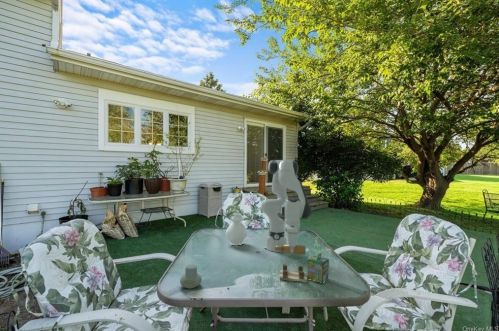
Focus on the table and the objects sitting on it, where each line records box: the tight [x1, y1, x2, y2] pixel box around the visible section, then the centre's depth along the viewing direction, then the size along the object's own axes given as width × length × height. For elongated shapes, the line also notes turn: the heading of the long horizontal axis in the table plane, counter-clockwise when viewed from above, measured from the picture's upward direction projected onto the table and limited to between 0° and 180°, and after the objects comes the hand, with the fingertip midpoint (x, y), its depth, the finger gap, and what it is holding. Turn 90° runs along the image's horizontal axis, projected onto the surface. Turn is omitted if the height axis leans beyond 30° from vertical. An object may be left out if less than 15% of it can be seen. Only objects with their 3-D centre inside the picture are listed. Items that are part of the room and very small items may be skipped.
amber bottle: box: [275, 243, 306, 256], centre depth 143 cm, size 5×17×5 cm
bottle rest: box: [279, 263, 308, 283], centre depth 143 cm, size 11×15×5 cm
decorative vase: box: [225, 212, 249, 246], centre depth 205 cm, size 18×18×25 cm
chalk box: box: [307, 252, 330, 284], centre depth 141 cm, size 9×9×15 cm
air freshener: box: [179, 264, 203, 290], centre depth 129 cm, size 11×8×10 cm
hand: (291, 250), depth 143 cm, fingers closed on amber bottle, 5 cm apart
